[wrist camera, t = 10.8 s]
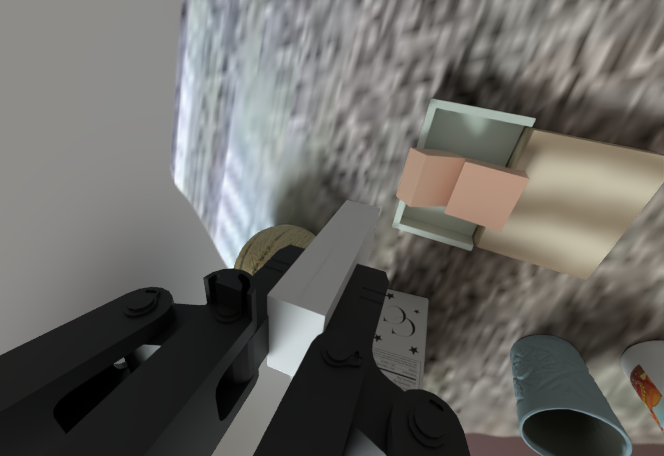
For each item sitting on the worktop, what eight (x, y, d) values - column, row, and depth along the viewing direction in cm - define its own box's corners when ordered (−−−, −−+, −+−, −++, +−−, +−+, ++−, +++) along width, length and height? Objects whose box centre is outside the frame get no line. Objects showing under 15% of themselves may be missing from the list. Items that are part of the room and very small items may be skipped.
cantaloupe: (351, 225, 44) (313, 279, 31) (336, 295, 51) (300, 362, 38) (268, 200, 47) (204, 239, 34) (265, 269, 54) (211, 322, 41)
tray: (432, 98, 33) (431, 98, 30) (526, 116, 30) (536, 118, 27) (395, 217, 40) (391, 226, 38) (468, 238, 38) (471, 251, 35)
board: (524, 126, 31) (534, 130, 28) (652, 151, 28) (681, 159, 25) (473, 233, 38) (476, 247, 34) (572, 262, 35) (586, 280, 32)
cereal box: (408, 385, 54) (386, 574, 33) (370, 372, 56) (326, 541, 35) (429, 297, 44) (416, 485, 23) (382, 286, 46) (330, 448, 25)
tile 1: (466, 156, 31) (465, 161, 29) (525, 172, 29) (529, 178, 27) (446, 205, 34) (444, 213, 31) (499, 221, 32) (500, 231, 30)
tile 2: (468, 158, 31) (450, 151, 34) (426, 155, 29) (410, 147, 31) (449, 206, 34) (434, 196, 37) (409, 206, 32) (395, 196, 34)
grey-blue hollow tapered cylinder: (588, 381, 41) (636, 476, 31) (509, 379, 45) (528, 462, 35) (579, 327, 38) (628, 412, 28) (495, 331, 43) (512, 406, 32)
